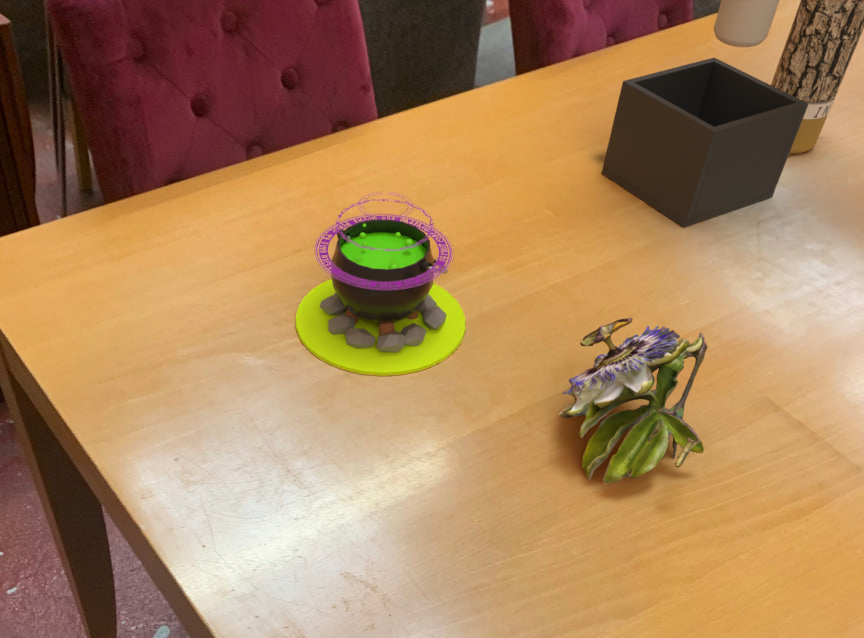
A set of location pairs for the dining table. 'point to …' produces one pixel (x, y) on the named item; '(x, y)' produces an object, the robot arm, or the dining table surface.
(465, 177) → the dining table surface
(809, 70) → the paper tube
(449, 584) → the dining table surface
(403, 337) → the toy cauldron
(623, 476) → the passion flower
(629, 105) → the bin
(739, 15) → the beverage can
